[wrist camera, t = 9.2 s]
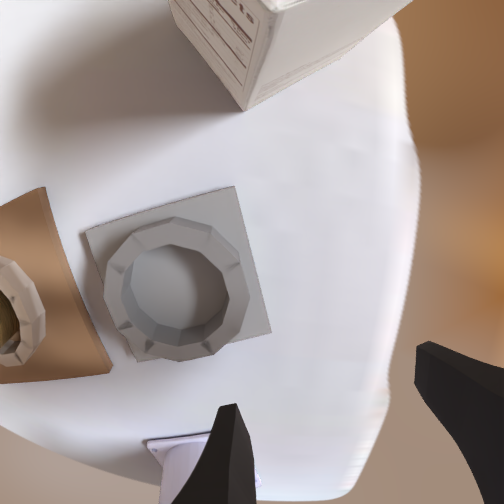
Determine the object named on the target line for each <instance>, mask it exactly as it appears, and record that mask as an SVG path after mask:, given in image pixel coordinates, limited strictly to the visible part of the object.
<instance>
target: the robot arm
mask: <svg viewBox="0 0 504 504" xmlns="http://www.w3.org/2000/svg"><path fill="white" fill-rule="evenodd" d="M414 384H415V386H416V388H417V389H418V391H419V393H420V394H421V396H422V398H423V400H424V401H425V403H426V404H427V405H428V407H429V408H430V409H431V411H432V412H433V413H434V414H435V416H436V417H437V418H438V420H439V421H440V422H441V423H442V424H443V426H444V427H445V428H446V430H447V431H448V432H449V434H450V435H451V436H452V437H453V439H454V440H455V442H456V443H457V445H458V447H459V449H460V450H461V452H462V454H463V456H464V457H465V459H466V461H467V463H468V465H469V467H470V469H471V471H472V473H473V476H474V478H475V480H476V482H477V484H478V487H479V489H480V492H481V495H482V498H483V501H484V504H504V368H500V367H497V366H493V365H490V364H487V363H483V362H481V361H478V360H475V359H473V358H470V357H467V356H465V355H462V354H460V353H458V352H455V351H453V350H450V349H448V348H446V347H443V346H441V345H439V344H436V343H433V342H431V341H427V342H425V343H423V344H420V345H418V346H417V348H416V366H415V381H414ZM147 448H148V449H149V450H150V452H151V453H152V454H153V456H154V457H155V458H156V460H157V461H158V462H159V464H160V465H161V466H162V468H163V473H162V481H161V489H160V497H159V504H256V488H258V487H260V486H262V482H261V480H260V478H259V475H258V473H257V471H256V469H255V467H254V457H253V451H252V445H251V440H250V436H249V433H248V431H247V428H246V426H245V424H244V421H243V419H242V416H241V414H240V411H239V409H238V406H237V404H236V403H234V404H229V405H225V406H220V407H219V409H218V412H217V415H216V418H215V421H214V424H213V427H212V430H211V433H208V434H201V435H194V436H187V437H180V438H171V439H162V440H151V441H148V442H147Z"/></svg>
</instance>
